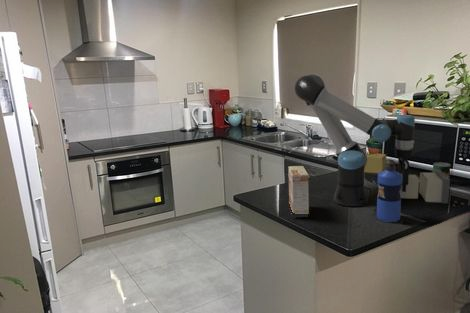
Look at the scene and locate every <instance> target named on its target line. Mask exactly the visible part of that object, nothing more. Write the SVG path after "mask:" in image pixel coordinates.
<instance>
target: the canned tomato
mask: <svg viewBox="0 0 470 313" xmlns="http://www.w3.org/2000/svg"><path fill="white" fill-rule="evenodd" d="M434 170H440V171H441V172H443V173H444V174H445V175H446V176H447V177H448V178H449V179H450V177H451V164H450V163H448V162H440V161H439V162H434V163H433V164H432V173H434Z"/></svg>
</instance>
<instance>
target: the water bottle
mask: <svg viewBox="0 0 470 313" xmlns="http://www.w3.org/2000/svg"><path fill="white" fill-rule="evenodd" d="M385 163H386V165H385V170H384V171H382V172H380V173H377V179H376V180H377V182H376V183H377V187H378V188H377V189H378V193H377V198H376V199H377V200H376V219H377V218H378V219H379V220H381V221H380V222H382V221H386V222H395V221H398V220H400V221H401V206H402V198H401V195H400V191H401V185H402V179H403V175H402V174H401V173H399V172H398V170H397V165H396V164H397V163H396V161H395V160H394V159H387V160H386V162H385ZM378 219H377V220H378ZM379 220H378V221H379ZM386 222H385V223H386Z"/></svg>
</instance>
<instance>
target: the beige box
mask: <svg viewBox="0 0 470 313" xmlns="http://www.w3.org/2000/svg"><path fill="white" fill-rule="evenodd" d="M419 187H420V176H418V175H417V174H409V177H408V185H407V195H406V198H405V199H410V200H411V199H413V200H416V199H419Z"/></svg>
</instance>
